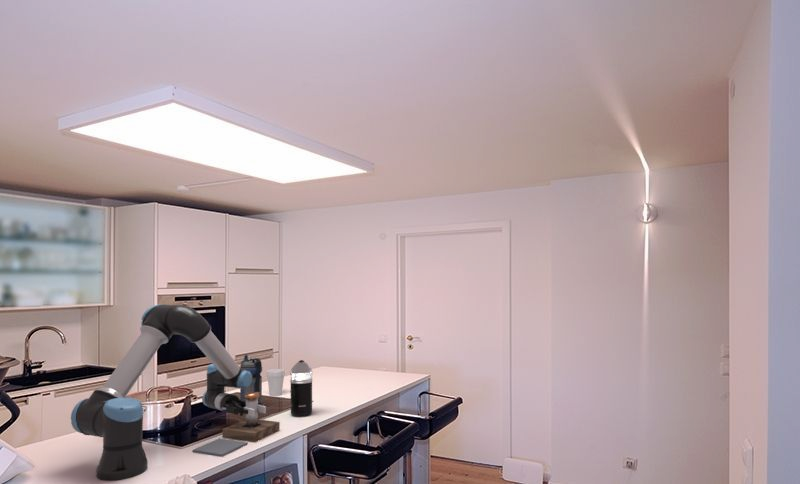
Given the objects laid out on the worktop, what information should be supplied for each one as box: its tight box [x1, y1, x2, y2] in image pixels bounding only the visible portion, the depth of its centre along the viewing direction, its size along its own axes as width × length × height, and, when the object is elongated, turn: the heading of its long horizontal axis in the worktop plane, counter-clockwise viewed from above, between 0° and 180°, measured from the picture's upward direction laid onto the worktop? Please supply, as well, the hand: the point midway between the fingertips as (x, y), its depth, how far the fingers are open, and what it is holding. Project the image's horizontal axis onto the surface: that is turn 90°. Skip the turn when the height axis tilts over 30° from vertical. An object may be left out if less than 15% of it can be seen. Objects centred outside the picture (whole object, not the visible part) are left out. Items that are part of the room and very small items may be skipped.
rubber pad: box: [192, 437, 249, 458], centre depth 195 cm, size 14×14×1 cm
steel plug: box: [244, 392, 259, 428], centre depth 212 cm, size 6×6×16 cm
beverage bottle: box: [239, 354, 263, 405], centre depth 254 cm, size 10×13×25 cm
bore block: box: [222, 418, 281, 443], centre depth 211 cm, size 16×16×4 cm
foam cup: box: [266, 368, 285, 397], centre depth 279 cm, size 10×9×13 cm
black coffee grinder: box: [289, 359, 313, 418], centre depth 240 cm, size 10×10×25 cm
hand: (259, 411), depth 209 cm, fingers closed on steel plug, 5 cm apart
